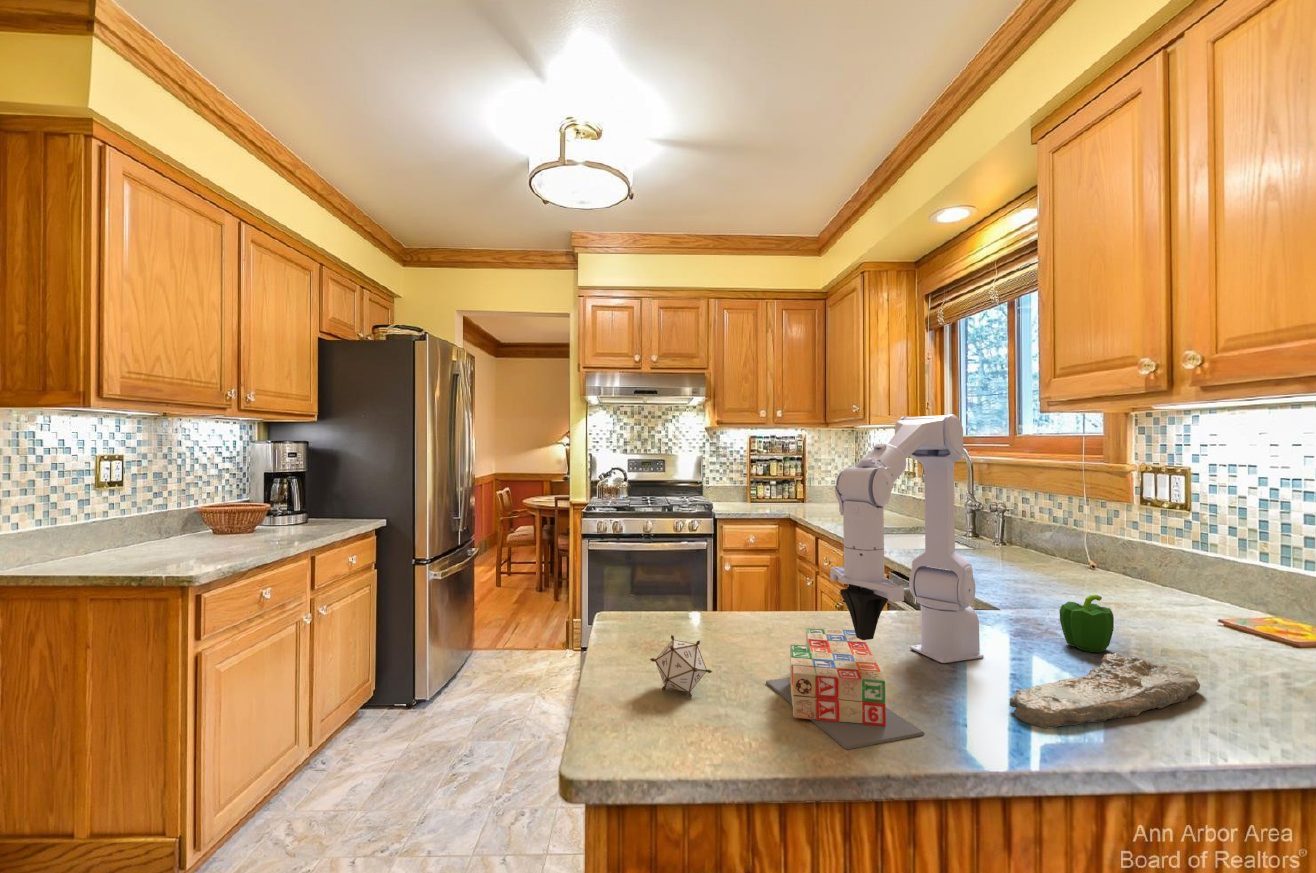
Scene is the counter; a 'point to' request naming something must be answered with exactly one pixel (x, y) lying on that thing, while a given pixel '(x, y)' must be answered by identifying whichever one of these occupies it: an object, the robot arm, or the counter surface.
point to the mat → (856, 724)
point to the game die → (681, 665)
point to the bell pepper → (1087, 624)
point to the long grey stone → (1105, 693)
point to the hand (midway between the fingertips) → (864, 638)
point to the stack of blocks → (836, 679)
